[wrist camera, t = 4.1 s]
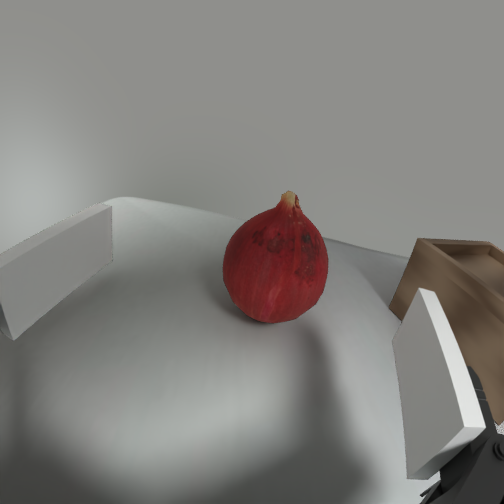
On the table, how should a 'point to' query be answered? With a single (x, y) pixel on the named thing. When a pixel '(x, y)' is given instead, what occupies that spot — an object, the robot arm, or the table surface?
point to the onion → (276, 263)
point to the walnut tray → (464, 303)
